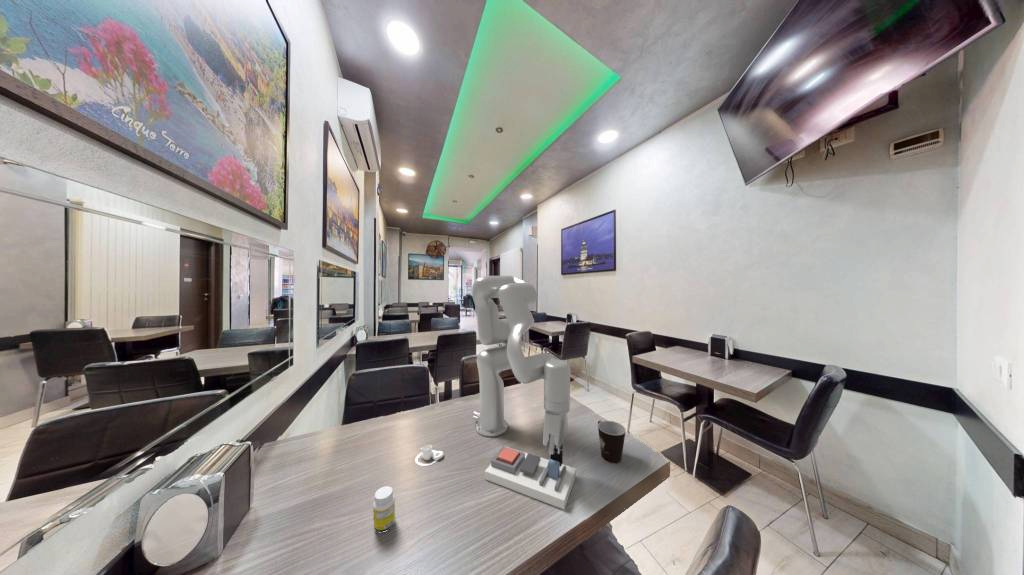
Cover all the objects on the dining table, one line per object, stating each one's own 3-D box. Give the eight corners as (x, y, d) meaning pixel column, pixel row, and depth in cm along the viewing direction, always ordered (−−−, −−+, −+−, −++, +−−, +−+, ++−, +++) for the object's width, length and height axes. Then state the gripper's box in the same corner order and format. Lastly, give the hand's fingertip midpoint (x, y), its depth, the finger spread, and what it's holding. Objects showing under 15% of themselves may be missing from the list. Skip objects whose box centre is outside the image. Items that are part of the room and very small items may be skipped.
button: (497, 463, 85) (497, 456, 85) (505, 453, 89) (505, 447, 89) (512, 468, 82) (512, 461, 82) (519, 458, 87) (519, 451, 87)
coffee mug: (627, 467, 87) (628, 436, 86) (598, 463, 89) (599, 433, 88) (620, 444, 98) (621, 417, 98) (595, 441, 100) (595, 415, 99)
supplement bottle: (378, 517, 70) (377, 485, 69) (398, 515, 70) (397, 483, 69) (370, 535, 65) (369, 501, 64) (391, 533, 65) (390, 499, 65)
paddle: (547, 476, 80) (547, 460, 79) (549, 472, 81) (549, 457, 81) (559, 480, 78) (559, 464, 78) (560, 476, 79) (560, 460, 79)
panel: (485, 479, 82) (484, 465, 82) (505, 453, 94) (505, 441, 94) (564, 509, 72) (564, 493, 71) (575, 476, 83) (576, 462, 83)
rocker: (520, 472, 81) (520, 468, 81) (528, 456, 86) (528, 453, 86) (533, 476, 79) (533, 472, 79) (540, 460, 84) (540, 456, 84)
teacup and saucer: (446, 455, 93) (446, 444, 93) (430, 471, 86) (430, 458, 86) (426, 448, 97) (426, 437, 97) (409, 463, 90) (409, 450, 90)
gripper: (552, 390, 89) (552, 446, 90) (535, 412, 76) (535, 476, 77) (575, 395, 86) (575, 452, 87) (562, 418, 72) (562, 485, 73)
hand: (556, 463), depth 82 cm, fingers closed
